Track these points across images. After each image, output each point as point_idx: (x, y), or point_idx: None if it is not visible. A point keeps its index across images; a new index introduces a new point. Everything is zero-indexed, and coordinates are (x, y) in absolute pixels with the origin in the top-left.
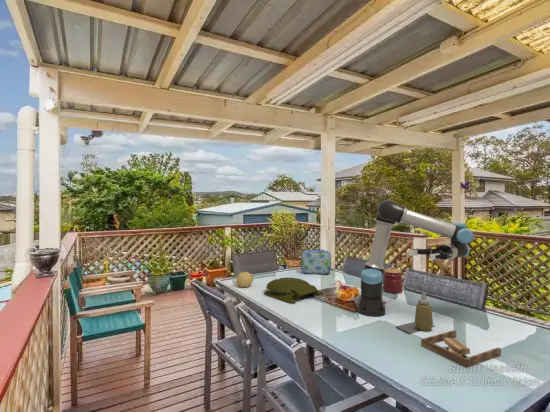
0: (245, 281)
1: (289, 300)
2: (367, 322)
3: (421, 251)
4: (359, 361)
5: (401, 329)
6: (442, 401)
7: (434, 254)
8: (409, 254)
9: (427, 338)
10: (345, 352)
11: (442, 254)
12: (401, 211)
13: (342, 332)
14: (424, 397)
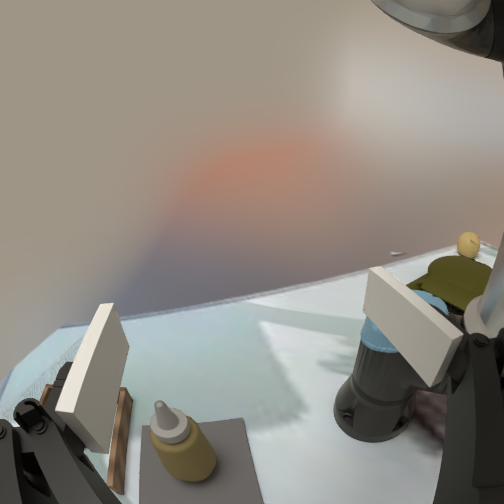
0: (459, 244)
1: (409, 283)
2: (295, 378)
3: (465, 401)
4: (158, 314)
5: (221, 421)
6: (59, 334)
7: (85, 340)
8: (368, 305)
9: (120, 398)
10: (187, 310)
11: (30, 422)
12: None
13: (254, 326)
14: (73, 327)
